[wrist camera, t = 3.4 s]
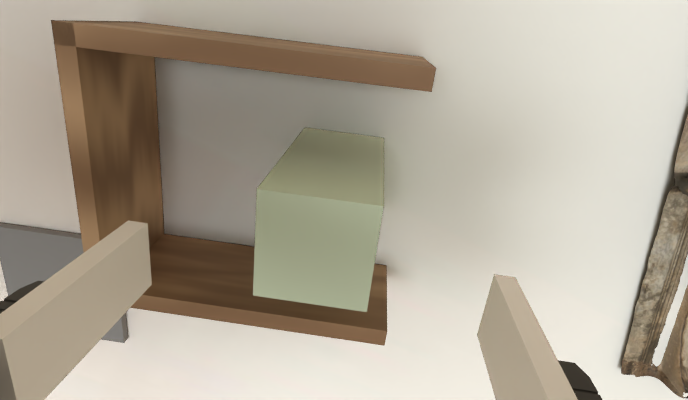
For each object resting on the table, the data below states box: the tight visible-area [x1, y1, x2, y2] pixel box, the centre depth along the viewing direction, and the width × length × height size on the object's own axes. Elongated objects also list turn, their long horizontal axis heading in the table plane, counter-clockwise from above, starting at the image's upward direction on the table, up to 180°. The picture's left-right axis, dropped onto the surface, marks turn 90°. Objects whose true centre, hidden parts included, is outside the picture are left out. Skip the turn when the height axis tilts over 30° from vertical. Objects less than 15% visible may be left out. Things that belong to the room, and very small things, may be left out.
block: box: [253, 128, 384, 312], centre depth 23 cm, size 5×5×11 cm
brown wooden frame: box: [51, 20, 436, 345], centre depth 25 cm, size 15×17×7 cm
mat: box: [0, 223, 128, 343], centre depth 33 cm, size 9×9×1 cm
